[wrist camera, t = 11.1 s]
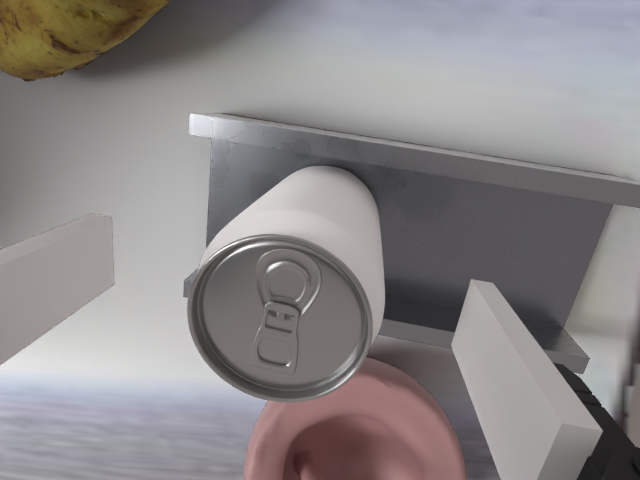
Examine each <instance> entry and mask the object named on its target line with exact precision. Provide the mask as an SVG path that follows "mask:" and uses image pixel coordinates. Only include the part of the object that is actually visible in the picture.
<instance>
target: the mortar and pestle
mask: <svg viewBox="0 0 640 480" xmlns="http://www.w3.org/2000/svg"><path fill="white" fill-rule="evenodd" d="M244 480H467V479H466V469H465V462H464V458H463V453H462V450H461V446H460V443H459V440H458V438H457V435H456V433H455V431H454V428H453V426H452V424H451V422H450V421H449V419H448V417H447V416H446V414H445V412H444V411H443V409H442V408H441V406H440V405H439V404H438V402H437V401H436V400H435V399H434V398H433V396H432V395H431V394H430V393H429V392H428V391H427V390H426V389H425V388H424V387H423V386H422V385H421V384H420V383H419V382H417V381H416V380H415V379H414V378H412V377H411V376H410V375H408V374H407V373H405V372H403V371H402V370H400V369H398V368H396V367H394V366H392V365H390V364H387V363H384V362H382V361H379V360H375V359H371V358H366V359H365V361H364V362H363V364H362V366H361V367H360V369H359V370H358V372H357V373H356V374H355V375H354V376H353V377H352V378H351V379H350V380H349V381H348V382H347V383H346V384H344V385H343V386H342V387H340V388H339V389H337V390H336V391H334V392H332V393H330V394H328V395H326V396H323V397H320V398H317V399H314V400H309V401H304V402H292V403H287V402H275V401H268V402H267V404H266V405H265V407H264V408H263V410H262V412H261V414H260V416H259V418H258V420H257V422H256V424H255V427H254V429H253V432H252V435H251V437H250V441H249V444H248V449H247V454H246V460H245V468H244Z"/></svg>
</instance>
